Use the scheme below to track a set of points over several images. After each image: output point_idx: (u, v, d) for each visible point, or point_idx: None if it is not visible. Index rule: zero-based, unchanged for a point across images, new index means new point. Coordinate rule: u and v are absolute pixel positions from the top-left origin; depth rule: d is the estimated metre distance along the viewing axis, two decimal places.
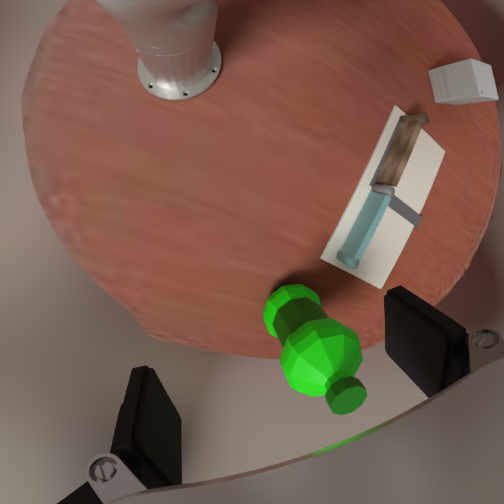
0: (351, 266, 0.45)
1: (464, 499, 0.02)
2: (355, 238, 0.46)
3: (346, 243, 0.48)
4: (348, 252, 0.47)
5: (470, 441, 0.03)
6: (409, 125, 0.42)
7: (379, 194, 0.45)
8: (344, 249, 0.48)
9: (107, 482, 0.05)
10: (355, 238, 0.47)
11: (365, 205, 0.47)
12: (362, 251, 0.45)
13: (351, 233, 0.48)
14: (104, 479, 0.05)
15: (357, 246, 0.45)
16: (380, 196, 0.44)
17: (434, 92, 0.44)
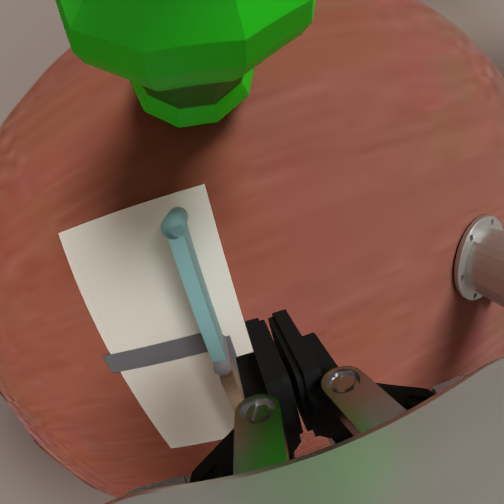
0: (174, 219, 0.21)
1: (464, 499, 0.02)
2: (195, 261, 0.24)
3: (191, 239, 0.26)
4: (186, 232, 0.24)
5: (470, 441, 0.03)
6: None
7: (223, 345, 0.26)
8: (187, 229, 0.25)
9: (252, 424, 0.07)
10: (195, 261, 0.25)
11: (214, 311, 0.28)
12: (179, 258, 0.22)
13: (197, 260, 0.26)
14: (252, 420, 0.07)
15: (191, 256, 0.23)
16: (223, 346, 0.26)
17: None
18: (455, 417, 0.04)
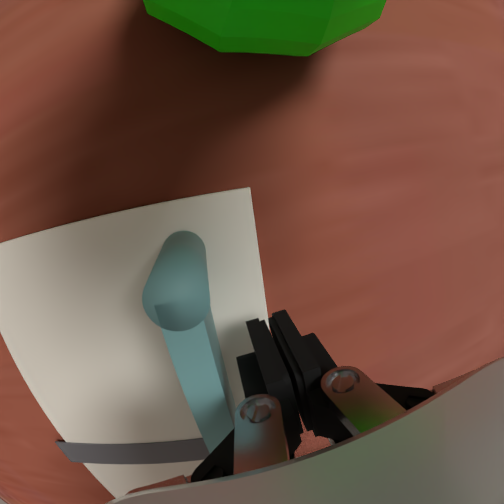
0: (181, 280, 0.07)
1: (464, 499, 0.02)
2: (218, 356, 0.11)
3: None
4: None
5: (470, 441, 0.03)
6: None
7: None
8: None
9: (253, 424, 0.07)
10: (218, 354, 0.11)
11: None
12: (189, 372, 0.08)
13: (217, 340, 0.13)
14: (252, 420, 0.07)
15: (217, 364, 0.09)
16: None
17: None
18: (455, 417, 0.04)
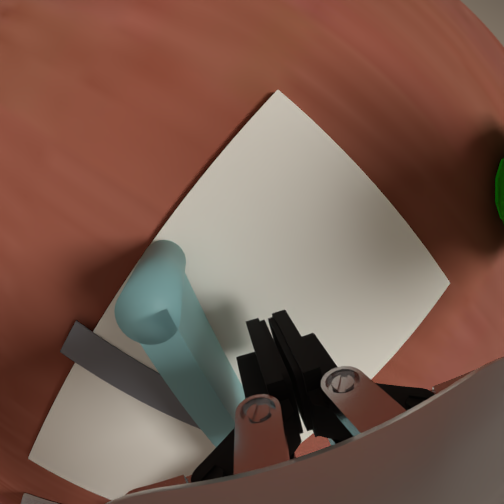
0: (146, 295, 0.07)
1: (464, 499, 0.02)
2: (215, 358, 0.11)
3: (198, 306, 0.12)
4: (186, 305, 0.10)
5: (470, 441, 0.03)
6: None
7: None
8: (187, 290, 0.11)
9: (253, 424, 0.07)
10: (214, 356, 0.11)
11: None
12: (178, 381, 0.08)
13: (215, 341, 0.13)
14: (252, 420, 0.07)
15: (206, 369, 0.09)
16: None
17: None
18: (455, 417, 0.04)
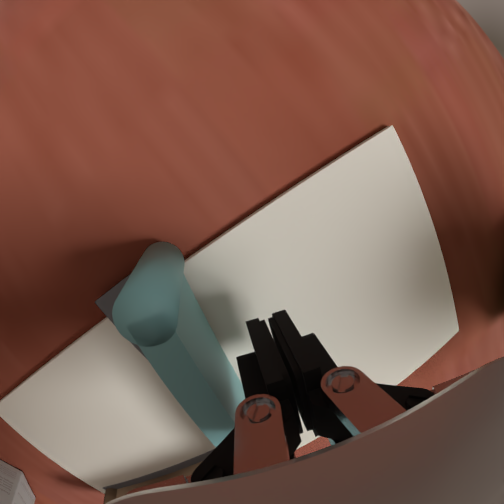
0: (143, 297, 0.07)
1: (464, 499, 0.02)
2: (214, 359, 0.11)
3: (197, 307, 0.12)
4: (184, 307, 0.10)
5: (470, 441, 0.03)
6: None
7: None
8: (186, 291, 0.11)
9: (253, 424, 0.07)
10: (214, 357, 0.11)
11: None
12: (177, 383, 0.08)
13: (216, 342, 0.13)
14: (252, 420, 0.07)
15: (205, 370, 0.09)
16: None
17: (26, 485, 0.15)
18: (455, 417, 0.04)
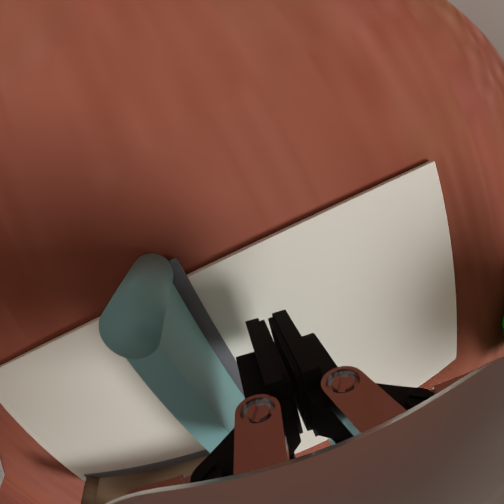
0: (126, 312, 0.07)
1: (464, 499, 0.02)
2: (206, 367, 0.11)
3: (188, 316, 0.12)
4: (172, 318, 0.10)
5: (470, 441, 0.03)
6: None
7: None
8: (176, 301, 0.11)
9: (253, 424, 0.07)
10: (205, 365, 0.11)
11: None
12: (166, 392, 0.08)
13: (209, 349, 0.13)
14: (252, 420, 0.07)
15: (194, 379, 0.09)
16: None
17: None
18: (455, 417, 0.04)
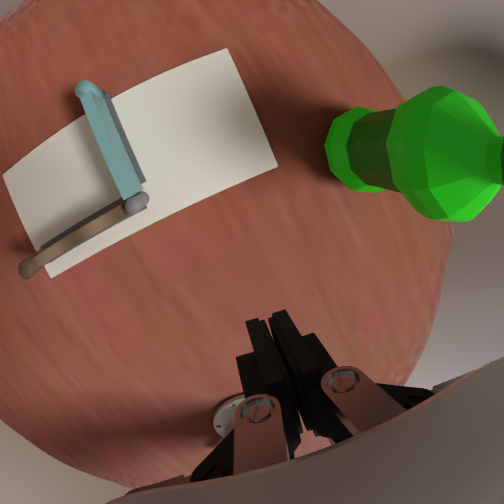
0: (83, 82, 0.22)
1: (464, 499, 0.02)
2: (107, 118, 0.25)
3: (107, 109, 0.26)
4: (98, 98, 0.24)
5: (470, 441, 0.03)
6: None
7: (137, 190, 0.28)
8: (103, 101, 0.26)
9: (253, 424, 0.07)
10: (107, 119, 0.25)
11: (132, 167, 0.29)
12: (88, 109, 0.23)
13: (113, 124, 0.27)
14: (252, 420, 0.07)
15: (98, 108, 0.23)
16: (134, 188, 0.27)
17: None
18: (455, 417, 0.04)
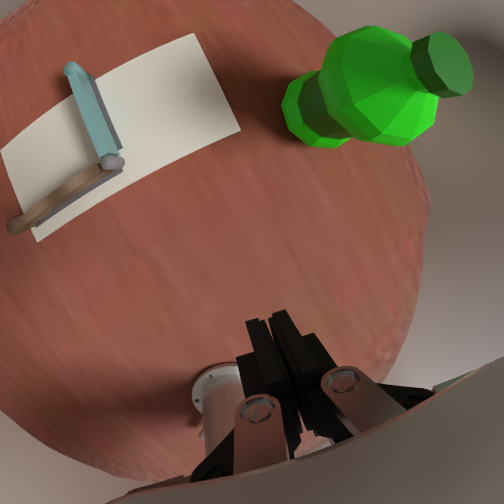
0: (70, 63, 0.24)
1: (464, 499, 0.02)
2: (89, 93, 0.27)
3: (91, 88, 0.29)
4: (83, 77, 0.26)
5: (470, 441, 0.03)
6: (34, 220, 0.30)
7: (112, 151, 0.29)
8: (87, 81, 0.28)
9: (253, 424, 0.07)
10: (90, 94, 0.28)
11: (110, 135, 0.31)
12: (73, 84, 0.25)
13: (95, 100, 0.29)
14: (252, 420, 0.07)
15: (82, 84, 0.25)
16: (110, 148, 0.29)
17: None
18: (455, 417, 0.04)
